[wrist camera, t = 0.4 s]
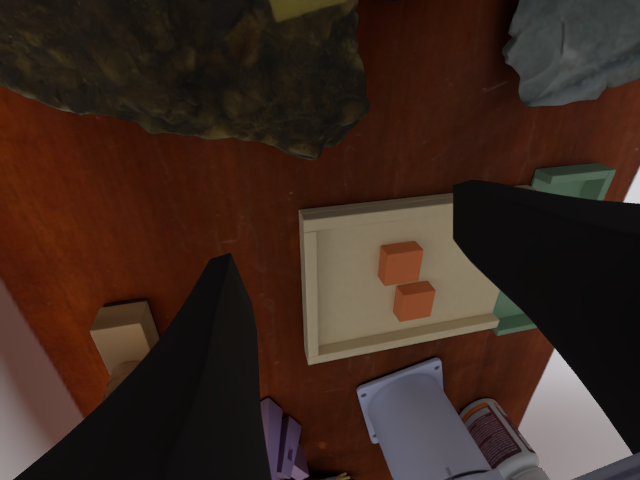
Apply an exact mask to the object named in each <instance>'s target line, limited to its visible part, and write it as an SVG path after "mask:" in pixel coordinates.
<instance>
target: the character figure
mask: <svg viewBox="0 0 640 480" xmlns="http://www.w3.org/2000/svg"><path fill="white" fill-rule="evenodd" d="M345 475H347V473H342V474H340V475H338V476H336V477H335V476H334V477H328V478H320V479H311V478H309V479H303V480H355V479H349V478H350V476H345ZM344 476H345V477H344ZM284 480H295V479H294V478H292V477H291V479H286V478H284Z"/></svg>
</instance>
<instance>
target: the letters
mask: <svg viewBox="0 0 640 480" xmlns="http://www.w3.org/2000/svg"><path fill="white" fill-rule="evenodd" d="M260 403H261V414H262V421H263V427H264V434H265V440H266V447H267V453H268V459H269V465H270V472H271V478H272V480H284V478H286V479H291V477H292V478H294V479H295V480H303V479H305V478H307V477H308V476H309V472H308V467H307V462H306V457H305V452H304V447H302V446H301V445H300V444H299V443H298V442H299V438H300V433H301V429H302V426H301V425H299V424H298V423H297V422H296V421H295V420H294V419H292V418H291V417H290V416H288V417H286V418H284V419H283V420H282V411H283V410H282V409H281V408H280V407H279V406H278V405H276V404H275V403H274V402H273V401H272V400H271V399H270V398H267V399H265V400H263V401H261V402H260Z"/></svg>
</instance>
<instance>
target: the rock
mask: <svg viewBox="0 0 640 480" xmlns="http://www.w3.org/2000/svg"><path fill="white" fill-rule="evenodd" d="M358 5H359V2H358V0H0V86H2V87H3V88H6V89H9V90H12V91H14V92H16V93H18V94H20V95H22V96H24V97H26V98H30V99H33V100H37V101H39V102H41V103H43V104H45V105H47V106H49V107H52V108H55V109H59V110H62V111H70V112H73V113H75V114H78V115H85V114H97V115H104V116H110V117H115V118H120V119H124V120H128V121H133V122H137V123H138V124H139V125H140V126H141V127H142V128H144V129H145V130H146V131H147V132H148V133H151V134H158V133H163V132H165V133H172V134H179V135H182V136H191V135H194V136H198V137H201V138H204V139H224V138H231V137H235V138H238V139H240V140H243V141H258V142H262V143H266V144H268V145H271V146H274V147H276V148H278V149H280V150H282V151H283V152H285V153H288V154H293V155H296V156H297V157H298V158H303V159H308V160H316V158H317V157H321V153H322V150H323V147H328V148H330V147H333V146H335V145H336V144H339V143H342V141H343V138H344V137H345V136H346V135H347V134H348V132H349V131H350V130H351V129H352V128H353V127H354V126H355V125H356V124H357V123H358V121H359V120H360V119H362V118H363V117H365V116H366V115H367V114H368V113H369V111H370V102H369V100H368V99H367V97H366V84H365V75H364V65H363V62H362V60H361V58H360V56H359V54H358V42H357V39H356V29H357V27H358V14H357V13H356V9H357V7H358Z"/></svg>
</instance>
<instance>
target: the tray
mask: <svg viewBox="0 0 640 480" xmlns="http://www.w3.org/2000/svg"><path fill="white" fill-rule="evenodd" d="M514 187H520V188H525V189H530V190H536V189H534V188H532V187H530V186H528V185H520V186H514ZM536 191H538V190H536ZM299 231H300V255H301V279H302V303H303V327H304V350H305V354H306V358H307V362H308V365H311V364H316V363H321V362H326V361H331V360H336V359H341V358H346V357H351V356H356V355H361V354H366V353H371V352H376V351H381V350H386V349H391V348H396V347H401V346H406V345H411V344H416V343H421V342H426V341H431V340H436V339H441V338H446V337H451V336H456V335H461V334H465V333H470V332H475V331H480V330H485V329H490V328H495V327H497V326H498V323H499V319H498V318H497V317H496V316H495V315H494V314H493V309H494V306H495V303H496V300H497V297H498V294H499V291H500V289H498V288H497V287H496V286H495V285H494V284H493V283H492V282H491V281H490V280H489V279H488V278H487V277H486V276H485V275H484V274H483V273H482V272H481V271H479V270H478V269H477V268H476V267H475V266H474V265H473V264H472V263H471V262H470V261H469V259H468V258H467V257H466V256H465V254H464V253H463V252H462V251H461V249H460V248H459V247H458V245H457V244H456V243H455V241H454V240H453V193H447V194H438V195H429V196H420V197H410V198H401V199H392V200H383V201H374V202H365V203H356V204H347V205H338V206H329V207H319V208H310V209H301V210H299ZM411 241H416V242H417V243H418V244H419V245H420V246H421V248H422V249H423V250H424V251H423V257H422V263H421V269H420V274H419V280H418V281H413V282H407V283H401V284H395V285H389V286H384V285H383V283H382V282H381V280H380V279H379V277H378V269H379V258H380V248H381V246H382V245H389V244H396V243H403V242H411ZM422 281H428V282H429V283H430V284H431V285H432V286H433V288H434V289H435V290H436V292H435V297H434V301H433V306H432V311H431V316H430V317H425V318H420V319H414V320H409V321H404V322H399V321H398V319H397V317H396V316H395V314H394V312H393V308H394V300H395V293H396V286H397V285H404V284H410V283H416V282H422Z"/></svg>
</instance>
